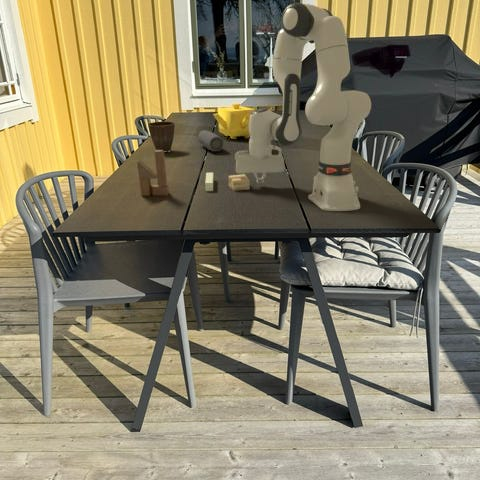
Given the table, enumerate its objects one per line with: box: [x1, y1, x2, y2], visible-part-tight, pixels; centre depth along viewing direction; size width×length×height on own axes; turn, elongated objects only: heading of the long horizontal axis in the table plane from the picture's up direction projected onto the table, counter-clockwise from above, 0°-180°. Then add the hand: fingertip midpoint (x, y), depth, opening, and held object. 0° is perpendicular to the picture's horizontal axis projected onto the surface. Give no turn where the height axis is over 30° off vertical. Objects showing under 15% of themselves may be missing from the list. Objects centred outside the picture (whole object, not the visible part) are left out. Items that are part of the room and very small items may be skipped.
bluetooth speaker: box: [197, 129, 224, 152], centre depth 248 cm, size 23×9×10 cm, turn 22°
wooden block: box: [137, 149, 170, 197], centre depth 171 cm, size 4×11×18 cm, turn 87°
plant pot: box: [147, 121, 175, 151], centre depth 245 cm, size 15×15×16 cm
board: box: [204, 172, 214, 192], centre depth 184 cm, size 16×3×4 cm, turn 2°
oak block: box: [228, 173, 250, 192], centre depth 181 cm, size 8×7×4 cm
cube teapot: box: [212, 103, 256, 140], centre depth 278 cm, size 35×30×21 cm
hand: (260, 182), depth 181 cm, fingers closed
